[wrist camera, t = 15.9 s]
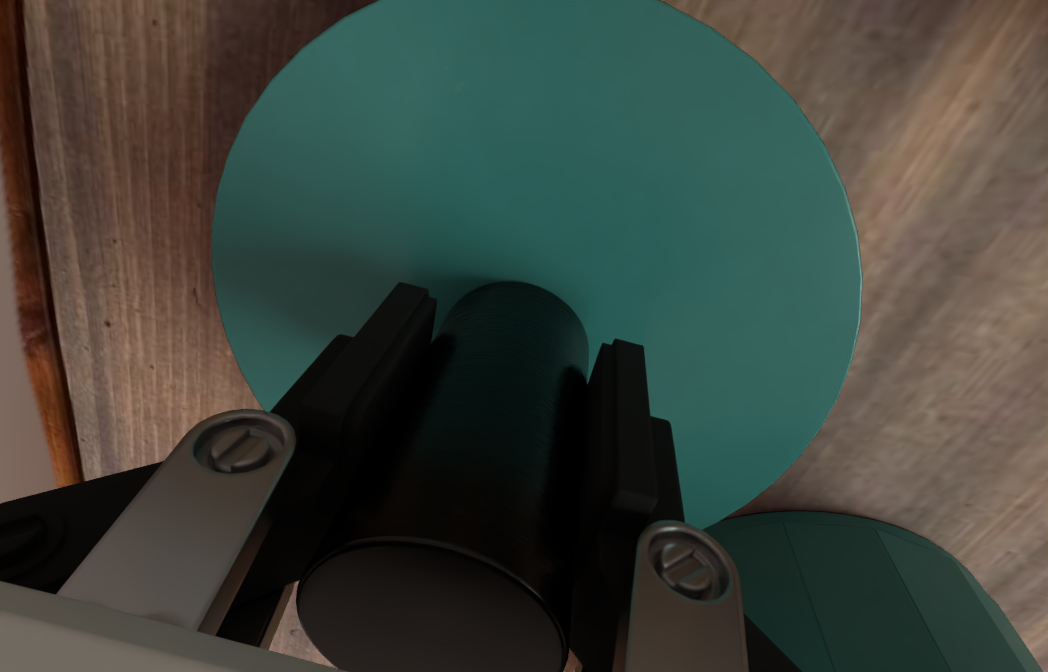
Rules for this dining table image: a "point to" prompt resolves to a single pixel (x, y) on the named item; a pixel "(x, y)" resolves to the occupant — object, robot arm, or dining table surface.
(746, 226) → the lid
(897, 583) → the pot
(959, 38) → the dining table surface
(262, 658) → the robot arm
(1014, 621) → the dining table surface
